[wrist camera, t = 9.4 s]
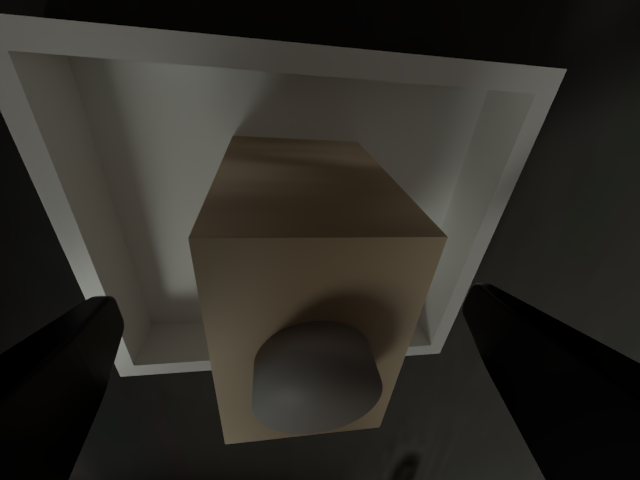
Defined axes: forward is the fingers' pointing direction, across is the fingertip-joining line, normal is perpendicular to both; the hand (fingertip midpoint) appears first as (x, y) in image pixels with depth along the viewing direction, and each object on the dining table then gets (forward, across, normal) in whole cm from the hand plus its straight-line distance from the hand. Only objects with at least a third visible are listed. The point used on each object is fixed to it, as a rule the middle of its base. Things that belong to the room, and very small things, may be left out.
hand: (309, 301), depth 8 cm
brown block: (+4, 0, 0) cm, 4 cm away
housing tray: (+5, 0, 0) cm, 5 cm away
